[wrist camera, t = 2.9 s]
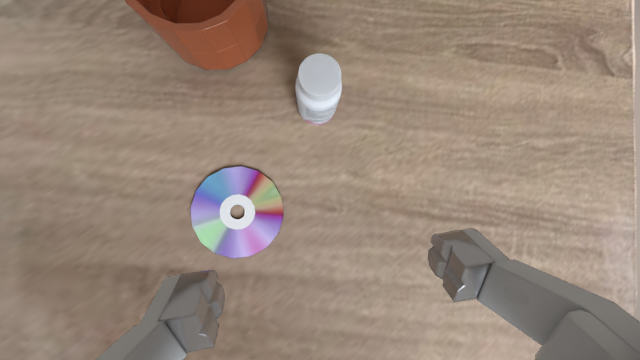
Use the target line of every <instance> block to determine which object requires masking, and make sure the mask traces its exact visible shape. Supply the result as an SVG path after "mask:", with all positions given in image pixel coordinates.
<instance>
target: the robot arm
mask: <svg viewBox="0 0 640 360" xmlns="http://www.w3.org/2000/svg"><path fill="white" fill-rule="evenodd" d="M431 243H432V244H433V247H432V248H431V249H430V250H429V252H428V261H429V265H430V267H431V269H432V271H433V272H434V274H435V275H436V276H438V277H439V278H441V279H443V287H444V288H445V290H446V291H447V293H448V294H449V295H450V297H451V298H452V300H453V301H454V302H458V301H465V300H471V299H477V300H478V301H479V302H481V303H482V304H484V305H485V306H486V307H488V308H489V309H491V310H492V311H494V312H495V313H496V314H498V315H499V316H501V317H502V318H504V319H505V320H506V321H508V322H509V323H511V324H512V325H513V326H515V327H516V328H518V329H519V330H521V331H522V332H523V333H525V334H526V335H528V336H529V337H531V338H532V339H533V340H535V341H536V342H538V343H539V344H541V345H542V347H541V348H540V350H539V351H538V352H537V354H536V355H535V360H640V322H639V321H638V320H637V319H635V318H634V317H633V316H631V315H630V314H629V313H627V312H626V311H625V310H623V309H622V308H621V307H619V306H618V305H617V304H615V303H614V302H612V301H610V300H608V299H605V298H603V297H601V296H598V295H596V294H594V293H591V292H589V291H587V290H584V289H582V288H580V287H577V286H575V285H573V284H570V283H568V282H566V281H563V280H561V279H559V278H557V277H554V276H552V275H550V274H547V273H545V272H543V271H540V270H538V269H536V268H533V267H531V266H529V265H526V264H524V263H522V262H519V261H517V260H515V259H514V260H510V259H509V258H508V257H507V256H505V255H504V254H503V253H502V252H501V251H500V250H499V249H498V248H496V247H495V246H494V245H493V244H492V243H491V242H490V241H489V240H487V239H486V238H485V237H484V236H483V235H482V234H481V233H480V232H478V231H477V230H476V229H474V228H469V229H463V230H456V231H450V232H445V233H439V234H434V235H433V236H432V238H431ZM217 278H218V275H217V273H216V271H215V270H208V271H201V272H194V273H186V274H180V275H173V276H168V277H167V278H166V279H164V281H163V282H162V284H161V286H160V288H159V290H158V291H157V293H156V295H155V297H154V299H153V301H152V302H151V304H150V306H149V308H148V310H147V312H146V313H145V315H144V317H143V319H142V321H141V322H140V324H139V325H135V326H133V327H132V328H131V329H130V330H129V331H128V332H126V333H125V334H124V335H123V336H122V337H121V338H120V339H119V340H117V341H116V342H115V343H114V344H113V345H112V346H111V347H109V348H108V349H107V350H106V351H105V352H104V353H103V354H102V355H100V356H99V357H98V358H97V359H96V360H183V359H184V358H185V357H186V355H187V353H189V352H193V351H198V350H202V349H207V348H212V347H214V345H215V341H216V337H217V333H218V329H219V324H218V322H217V318H218V317H219V316H220V315H221V314H222V312H223V308H224V300H225V295H224V289H223V287H222V285H221V284H219V283H218V282H217Z"/></svg>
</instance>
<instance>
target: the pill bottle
mask: <svg viewBox="0 0 640 360" xmlns="http://www.w3.org/2000/svg"><path fill="white" fill-rule="evenodd" d="M341 76H342V74H341V69H340V66H339V64H338V63H337V61H336V60H335V59H334V58H332V57H331V56H329V55H327V54H322V53H316V54H312V55H310V56H308V57H306V58H305V59H304V60H303V61H302V63H301V64H300V67H299V70H298V76H297V79H296V84H295V90H296V98H297V105H298V111H299V113H300V115H301V117H302V118H303V119H304V120H305V121H306V122H307V123H309V124H312V125H322V124H325V123H327V122H328V121H329V120H330V119H331V118H332V117H333V115H334V113H335V110H336V107H337V104H338V101H339V98H340V95H341V91H342V82H341Z"/></svg>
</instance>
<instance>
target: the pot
mask: <svg viewBox="0 0 640 360" xmlns="http://www.w3.org/2000/svg"><path fill="white" fill-rule="evenodd" d="M125 1H126V3H127V4H128V5H129V6H130V7H131V8H132V9H133V10H134V11H135V12H136V13H137V14H138V15H139V16H140V17H141V18H142V19H143V20H144V21H145V22H146V23H147V24H148V25H149V26H150V27H151V28H152V29H153V30H154V31H155V32H156V33H157V34H158V35H159V36H160V37H161V38H162V39H163V40H164V41H165V42H166V43H167V44H168V45H169V46H170V47H171V48H172V49H173V50H174V51H175V52H176V53H177V54H178V55H179V56H180V57H181V58H182V59H183V60H185V61H186V62H187V63H190V64H193V65H195V66H198V67H201V68H203V69H207V70H214V69H229V68H232V67H234V66H237V65H239V64H241V63H244V62H246V61H247V60H248V59H249V58H250V57H251V56H252V55H253V54H254V53H255V52H256V51H257V50H258V49H259V48H260V47H261V45H262V43H263V40H264V38H265V35H266V32H267V30H268V8H267V4H266V0H125Z"/></svg>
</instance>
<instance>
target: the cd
mask: <svg viewBox="0 0 640 360" xmlns="http://www.w3.org/2000/svg"><path fill="white" fill-rule="evenodd" d="M234 205H241V206H242V207H243V208H244V209H245V214H244V216H243V217H242V218H241V219H234V218H233V217H232V216H231V214H230V210H231V208H232V207H233V206H234ZM191 217H192V227H193V228H194V230H195V232H196V234H197V236H198V238H199V239H200V241H201V243H203V244H204V245H205V246H206V247H208V248H209V249H210V250H212V251H213V252H214V253H215V254H219V255H223V256H227V257H230V258H239V257H247V256H252V255H254V254H256V253H257V252H259V251H261V250H263V249H264V248H266V247H268V245H269V244H270V243H271V241H272V240H273V239H274V238H275V236H276V235H277V234H278V233H279V229H280V226H281V222H282V219H283V206H282V198H281V196H280V194H279V192H278V190H277V189H276V187H275V185H274V183H273V182H272V181H271V180H269V179H268V178H267V177H266V176H264V175H263V174H262V173H261V172H259V171H256V170H253V169H249V168H246V167H242V166H241V167H232V168H223V169H222V170H220V171H218V172H216V173H214V174H212V175H210V176H209V177H207V178H206V180H205V181H204V182H203V183H202V184H201V186H200V187H199V188H198V189H197V190H196V193H195V196H194V199H193V202H192V206H191Z"/></svg>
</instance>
